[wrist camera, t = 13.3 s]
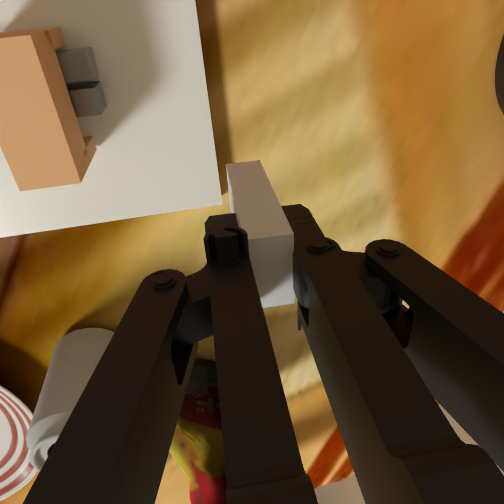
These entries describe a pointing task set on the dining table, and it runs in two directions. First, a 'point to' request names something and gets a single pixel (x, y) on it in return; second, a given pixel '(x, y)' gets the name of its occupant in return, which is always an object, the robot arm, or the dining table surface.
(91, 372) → the can
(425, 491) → the robot arm
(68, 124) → the tan wooden block
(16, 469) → the dinner plate
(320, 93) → the dining table surface
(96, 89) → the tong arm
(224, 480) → the bottle
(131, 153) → the slider mechanism board
